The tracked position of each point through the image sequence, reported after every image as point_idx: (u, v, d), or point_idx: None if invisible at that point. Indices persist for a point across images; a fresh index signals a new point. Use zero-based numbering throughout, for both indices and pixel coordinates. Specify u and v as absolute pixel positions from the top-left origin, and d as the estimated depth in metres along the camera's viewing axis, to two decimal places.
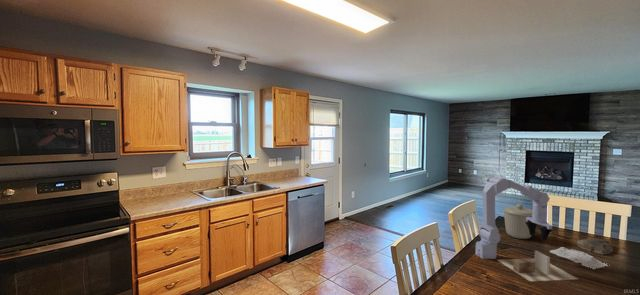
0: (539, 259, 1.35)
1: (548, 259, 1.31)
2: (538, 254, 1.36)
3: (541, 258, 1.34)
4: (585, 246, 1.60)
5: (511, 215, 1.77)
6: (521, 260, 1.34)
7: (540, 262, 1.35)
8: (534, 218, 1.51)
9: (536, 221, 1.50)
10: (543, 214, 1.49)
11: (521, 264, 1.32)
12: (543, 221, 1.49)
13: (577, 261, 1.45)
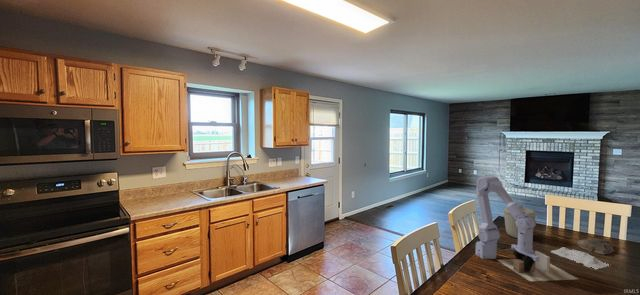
0: (539, 259, 1.35)
1: (548, 259, 1.31)
2: (538, 254, 1.36)
3: (541, 258, 1.34)
4: (586, 246, 1.60)
5: (511, 215, 1.77)
6: (521, 260, 1.34)
7: (540, 262, 1.35)
8: (519, 247, 1.33)
9: (522, 251, 1.32)
10: (529, 243, 1.31)
11: (521, 264, 1.32)
12: (529, 251, 1.31)
13: (578, 261, 1.45)
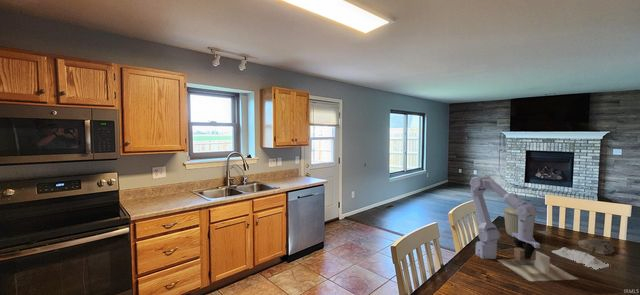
0: (539, 259, 1.35)
1: (548, 259, 1.31)
2: (538, 254, 1.36)
3: (541, 258, 1.34)
4: (586, 246, 1.59)
5: (511, 215, 1.77)
6: (522, 248, 1.34)
7: (540, 262, 1.35)
8: (520, 235, 1.33)
9: (522, 238, 1.32)
10: (530, 230, 1.30)
11: (521, 252, 1.32)
12: (530, 238, 1.30)
13: (579, 262, 1.45)
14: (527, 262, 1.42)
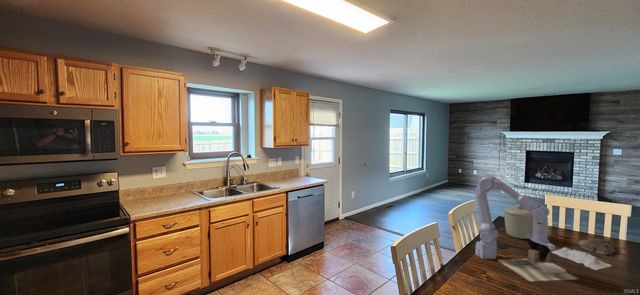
0: (552, 266, 1.36)
1: (563, 271, 1.32)
2: (555, 265, 1.36)
3: (556, 267, 1.35)
4: (587, 246, 1.59)
5: (511, 215, 1.77)
6: (536, 250, 1.34)
7: (550, 266, 1.35)
8: (535, 236, 1.33)
9: (537, 240, 1.32)
10: (545, 232, 1.31)
11: (536, 254, 1.32)
12: (545, 240, 1.31)
13: (579, 262, 1.44)
14: (527, 262, 1.42)
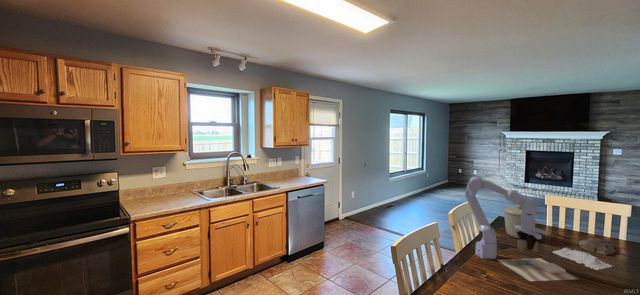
0: (552, 266, 1.36)
1: (563, 271, 1.32)
2: (555, 265, 1.36)
3: (556, 267, 1.35)
4: (587, 246, 1.59)
5: (511, 215, 1.77)
6: (524, 240, 1.42)
7: (550, 266, 1.35)
8: (523, 227, 1.41)
9: (525, 230, 1.40)
10: (532, 223, 1.39)
11: (524, 244, 1.40)
12: (532, 230, 1.39)
13: (580, 262, 1.44)
14: (527, 262, 1.42)
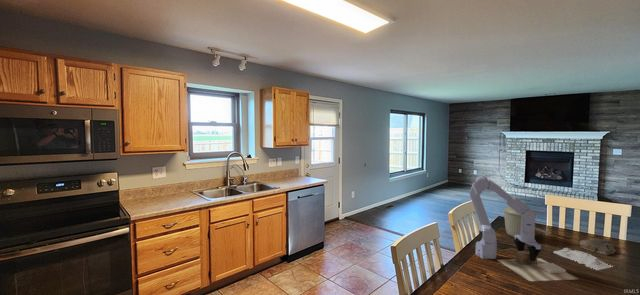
0: (552, 266, 1.36)
1: (563, 271, 1.32)
2: (555, 265, 1.36)
3: (556, 267, 1.35)
4: (588, 247, 1.59)
5: (511, 215, 1.77)
6: (524, 252, 1.43)
7: (550, 266, 1.35)
8: (522, 237, 1.41)
9: (524, 240, 1.40)
10: (532, 233, 1.39)
11: (524, 256, 1.41)
12: (532, 240, 1.39)
13: (580, 262, 1.44)
14: None
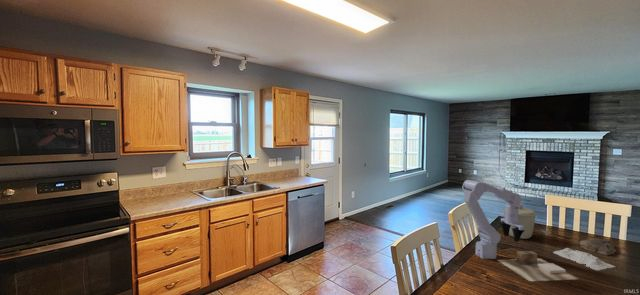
0: (552, 266, 1.36)
1: (563, 271, 1.32)
2: (555, 265, 1.36)
3: (556, 267, 1.35)
4: (589, 247, 1.59)
5: None
6: (524, 252, 1.43)
7: (550, 266, 1.35)
8: (507, 219, 1.52)
9: (509, 222, 1.51)
10: (515, 215, 1.49)
11: (524, 256, 1.41)
12: (516, 222, 1.50)
13: (581, 262, 1.44)
14: None
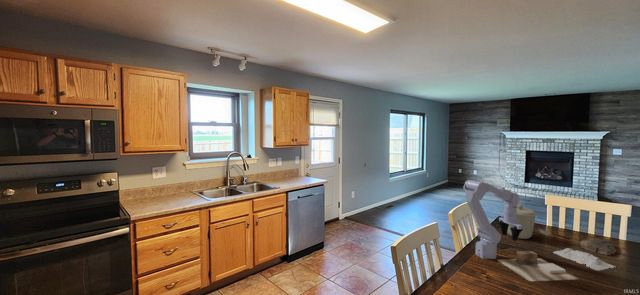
0: (552, 266, 1.36)
1: (563, 271, 1.32)
2: (555, 265, 1.36)
3: (556, 267, 1.35)
4: (589, 247, 1.59)
5: None
6: (524, 252, 1.43)
7: (550, 266, 1.35)
8: (505, 218, 1.53)
9: (507, 221, 1.52)
10: (514, 214, 1.51)
11: (524, 256, 1.41)
12: (514, 221, 1.51)
13: (581, 262, 1.44)
14: None
